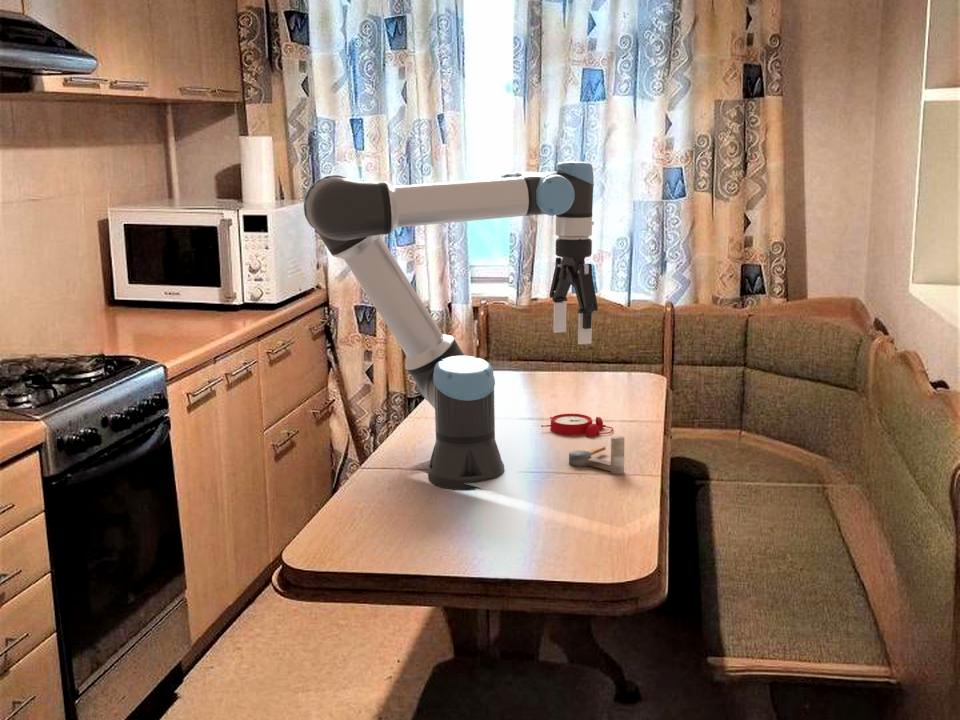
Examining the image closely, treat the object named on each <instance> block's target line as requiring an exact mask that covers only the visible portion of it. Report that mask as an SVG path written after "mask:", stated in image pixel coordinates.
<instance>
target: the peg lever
mask: <svg viewBox="0 0 960 720" xmlns="http://www.w3.org/2000/svg"><path fill="white" fill-rule="evenodd" d="M605 450H606V446H604V445H601V446H599V447H596V448H594V449H591V450H589V451H587V450H583V449H582V450H572V451H570V452H568V464H569V465H570V466H572V467H577V468H582V467H583V468H584V467H588V466H589V467H592V468H596V469H601V470H605V471H608V472H610V474H613V475H617V476H619V475H623V474H625V437H624V436H621V435H613V436H611V437H610V461H609V460H605V459H602V458H601V459H600V458H597V457H592V456H593V455H594V456H595V455H596V454H598V453H600V452H603V451H605Z"/></svg>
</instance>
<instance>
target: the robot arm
mask: <svg viewBox="0 0 960 720" xmlns="http://www.w3.org/2000/svg"><path fill="white" fill-rule="evenodd" d="M594 182H595V181H594V167H593V165H592V163H590V162H588V161H559V162H558V163H557V165H556V169H555V171H550V172H546V171H545V172H544V171H543V172H542V171H515V172H506V173H503V174H502V175H501V177H499V178H486V179H485V178H484V179H473V180H471V179H470V180H460V181H459V180H458V181H447V182H433V183H422V184H421V183H419V184H409V185H395V186H392V185H391V184H390V183H389V182H387V181H361V180H355V179H354V180H353V179H351V178H350V179H349V178H347V177H345V176H342V175H339V174H338V175H335V174H333V175H327V176H324V177H322V178H320V179H317V181H315V182H313V184H312V185H311V186H310V187H309V189H308V190H307V192H306V194H305V197H304V201H303V211H304V216H305V219H306V221H307V222H308V224H309V226H310V227H311V228H313V230H315V231H316V234H318V236H319V237H320V240H321V241H322V242H323V244H324V246H325V247H326V248H327V250H328V252H330V254H331V256H332V257H335V258H340V259H342V260H344V262H345V263H346V264H347V266H348V268H349V269H350V271H351V273H352V274H353V276H354V277H355V278H356V280H357V282H358V283H359V285H360V286H361V288H362V289H363V291H364V293H365V294H366V296H367V297H368V298H369V300H370V302H371V304H372V305H373V307H374V309H376V311H377V312H378V314H379V316H380V317H381V319H382V320H383V322H384V323H385V325H386V326H387V329H388V330H389V331H390V332H391V334H392V335H393V337H394V339H395V340H396V341H397V343H398V345H399V346H400V348H401V349H402V351H403V352H404V354H405V355H406V359H405V363H404V368H405V369H406V370H407V372H408V373H409V375H410V377H411V378H412V380H413V381H414V383H415V385H416V387H417V390H418V393H420V395H421V396H422V398H424V399H425V401H427V402H428V403H429V404H430V405H431V406H432V408H434V417H435V418H434V419H435V421H434V423H435V424H434V425H435V443H434V446H433V449H432V452H431V456H430V461H429V464H428V466H427V478H428V481H429V482H430V483H431V484H433V485H435V486H437V487H440V488H444V489H450V490H459V491H460V490H476V489H480V487H478V486H475V485H471V484H477V483H484V482H488V481H491V480H494V479H497V478H499V477H500V476H502V475H503V474H504V473H505V464H504V462H503V460H502V457H501V453H500V449H499V447H498V444H497V441H496V432H495V431H496V430H495V428H496V426H495V425H496V424H495V422H496V421H495V419H496V418H495V417H496V415H495V385H496V381H495V380H496V379H495V375H494V369H493V366H492V365H491V363H489V362H488V361H487V360H485V359H483V358H481V357H476V356H472V355H465V353H464V352H463V350H462V348H461V347H460V346H459V344H458V342H457V341H456V340H455V338H454V337H453V335H450V334H445V333H442V331H441V329H440V328H439V326H438V325H437V323H436V322H435V320H434V318H433V317H432V315H431V314H430V312H429V311H428V309H427V307H426V306H425V304H424V303H423V301H422V300H421V297H420V296H419V294H418V293H417V291H416V290H415V288H414V287H413V285H412V284H411V281H409V279H408V277H407V276H406V274H405V273H404V271H403V270H402V268H401V266H400V265H399V263H398V261H397V260H396V258H395V257H394V255H393V253H392V252H391V251H390V249H389V247H388V246H387V243H386V242H385V240H384V239H383V237H382V236H381V235H391V234H392V233H393V232H394V231H395V230H396V229H397V228H406V227H407V228H408V227H417V226H418V227H419V226H426V225H427V226H429V225H431V226H432V225H440V224H450V223H459V222H461V223H462V222H471V221H472V222H473V221H483V220H491V219H492V220H495V219H496V220H497V219H505V218H516V217H517V218H518V217H525V216H527V217H528V216H539V215H540V216H542V215H543V216H544V215H547V216H550V217H551V216H552V217H553V216H555V236H557V238H556V239H555V256H557V257H556V258H555V264H554V265H555V267H554V271H553V274H552V281H551V284H550V290H549V298H552V302H553V328H552V330H553V331H552V332H553V333H555V334H556V333H557V334H558V333H567V306H568V303H567V302H568V297H567V296H568V293H569V291H570V288H571V286H572V287H573V288H574V289H573V290H574V293H575V295H576V299H577V303H578V305H579V310H578V311H577V314H578V321H577V322H578V323H577V325H578V326H577V327H578V329H577V330H578V331H577V344H578V345H591V344H593V343H592V342H593V341H592V340H593V339H592V338H593V337H592V335H593V313H595V312H598V310H599V309H598V307H599V306H598V301H597V295H596V290H595V283H594V279H593V265H592V263H585V262H586V261H585V258H589V257H591V256H592V254H593V249H592V248H593V246H592V245H593V240H592V239H591V238H590V237H591V236H592V235H593V225H595V223H594V220H593V207H594V206H593V202H594V201H593V200H594V186H595V183H594Z"/></svg>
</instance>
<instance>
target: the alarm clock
mask: <svg viewBox="0 0 960 720" xmlns="http://www.w3.org/2000/svg"><path fill="white" fill-rule="evenodd" d="M549 418H550V424H548V425H543V424H541V426H540V427H541V428H543V427H547V428H548V427H550V428H549V431H550V432H552V433H553V434H557V435H561V436H582V435H583V436H584V435H585V437H586V438H594V437H596V436H598V435H600V434H601V435H606V434H608V435H609V434H611V433H612V432H613V431H614V428H613V427H611V426H606V424H604V422H603V418H602V417H601V416H596V417H595V423H593V418H592V417H591V416H588V415H586V414H581V413H561V414H557V415H554V416H550V417H549ZM604 428H607V429H611V430H609V431H607V432H600V431H603V430H604Z"/></svg>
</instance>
